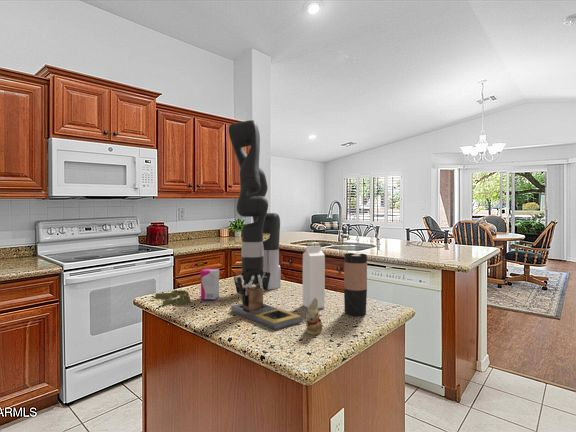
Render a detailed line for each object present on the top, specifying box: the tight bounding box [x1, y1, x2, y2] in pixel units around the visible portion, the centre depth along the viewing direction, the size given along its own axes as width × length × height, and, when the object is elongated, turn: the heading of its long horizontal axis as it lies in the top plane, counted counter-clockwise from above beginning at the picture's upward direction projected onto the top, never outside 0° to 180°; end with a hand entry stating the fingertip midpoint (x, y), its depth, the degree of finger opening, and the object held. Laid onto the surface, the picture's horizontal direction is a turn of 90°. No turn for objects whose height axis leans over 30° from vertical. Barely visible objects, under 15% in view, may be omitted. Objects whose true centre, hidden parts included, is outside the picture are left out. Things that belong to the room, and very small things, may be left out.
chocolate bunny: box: [305, 298, 323, 336], centre depth 102 cm, size 6×8×10 cm
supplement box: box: [200, 268, 220, 302], centre depth 138 cm, size 6×6×12 cm
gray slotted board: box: [230, 303, 301, 331], centre depth 115 cm, size 10×24×2 cm, turn 41°
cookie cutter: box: [154, 289, 191, 307], centre depth 137 cm, size 18×12×2 cm, turn 32°
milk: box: [302, 245, 326, 309], centre depth 127 cm, size 6×6×22 cm
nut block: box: [243, 285, 264, 311], centre depth 120 cm, size 5×5×8 cm
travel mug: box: [343, 252, 368, 317], centre depth 120 cm, size 8×8×20 cm
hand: (252, 304), depth 120 cm, fingers closed on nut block, 5 cm apart
